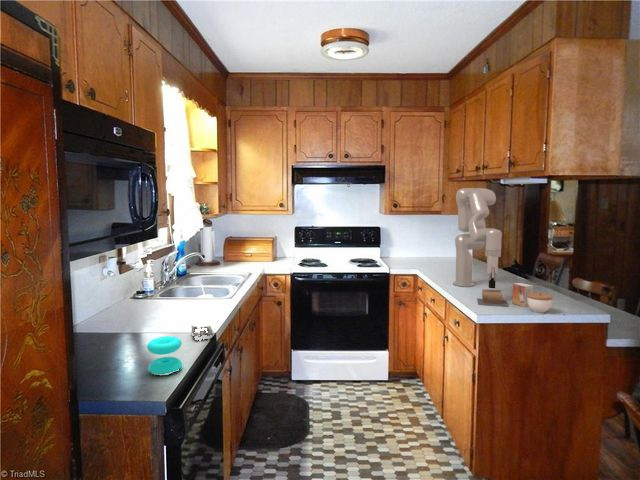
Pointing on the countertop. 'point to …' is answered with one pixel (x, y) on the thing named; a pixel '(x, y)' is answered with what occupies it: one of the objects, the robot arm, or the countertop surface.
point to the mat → (504, 303)
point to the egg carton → (203, 331)
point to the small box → (521, 294)
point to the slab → (492, 296)
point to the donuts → (163, 347)
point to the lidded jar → (539, 302)
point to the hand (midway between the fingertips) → (491, 287)
